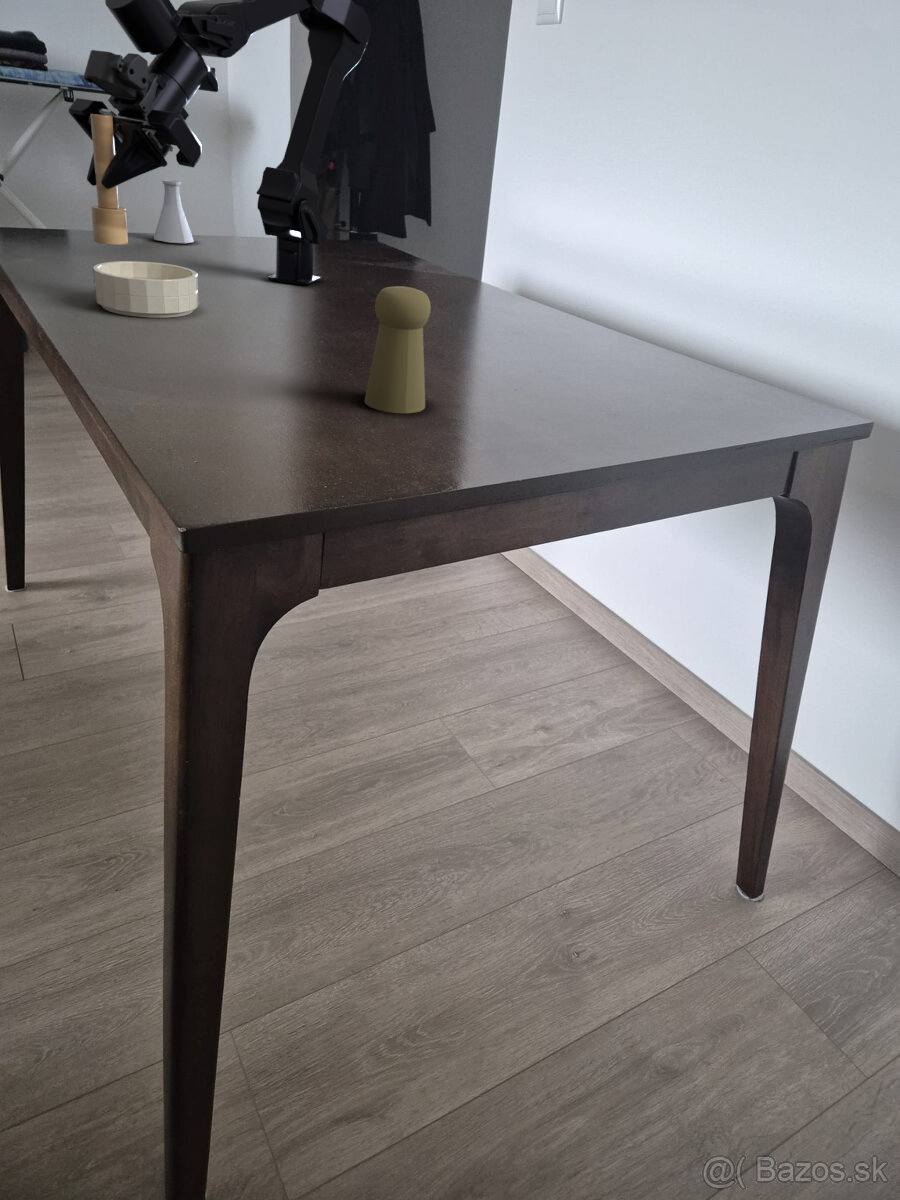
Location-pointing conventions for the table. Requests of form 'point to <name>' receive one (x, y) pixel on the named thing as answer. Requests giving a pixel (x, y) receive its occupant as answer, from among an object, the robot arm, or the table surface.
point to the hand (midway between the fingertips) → (97, 184)
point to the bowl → (146, 289)
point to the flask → (172, 217)
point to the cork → (399, 351)
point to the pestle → (107, 213)
